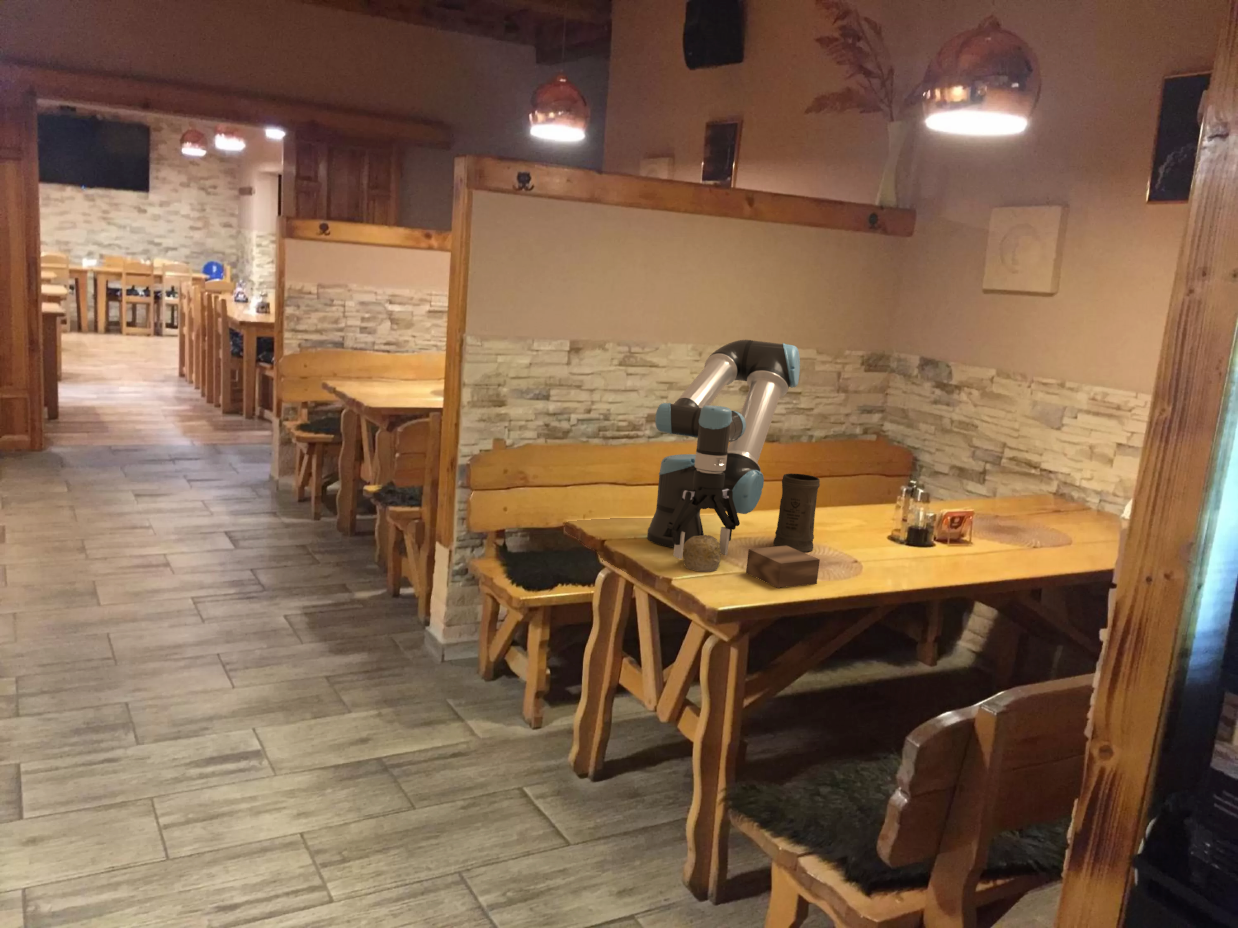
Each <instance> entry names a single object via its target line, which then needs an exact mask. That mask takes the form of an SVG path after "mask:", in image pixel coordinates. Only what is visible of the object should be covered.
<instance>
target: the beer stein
mask: <svg viewBox="0 0 1238 928" xmlns="http://www.w3.org/2000/svg"><path fill="white" fill-rule="evenodd" d="M820 486H821V483H820V478H819V477H817V476H813V475H811V474H801V473H784V474H783V476H782V479H781V489H782V490H781V498H780V503H779V511H778V518H777V523H776V525H777V527H776V530H775V537H774V539H773V541H772V544H773V547H776V546H789V547H791V548H794V549H796V550H799V551H801V552H803V553H809V552H811V551H813V550H814V543H813V541H814V539H815V535H814V531H815V529H814V528H815V516H816V508H817V507H816V506H817V500H818V497H817V496H818V491H819V488H820Z"/></svg>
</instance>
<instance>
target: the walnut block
mask: <svg viewBox="0 0 1238 928" xmlns="http://www.w3.org/2000/svg"><path fill="white" fill-rule="evenodd" d="M747 551H748V552H747V558H746V559H747V560H746V567H745V568H746V570H745V573H746V574H747V573H748V574H747V575H749V574H750V576H751V575H752V577H754V578H756V577H757V578H756V579H758V578H759V579H758V580H760V579H761V580H760V581H762V580H763V581H762V582H764V581H765V582H764V583H766V582H767V583H766V584H768V583H769V585H770V584H771V585H770V586H772V585H773V586H772V587H774V586H775V587H774V588H776V587H777V589H781V588H780V587H785V588H787V587H786V586H793V587H799V586H798V585H801V586H807V584H809V585H815V584H817V583H818V577H819V569H820V560H821V559H820V558H818V557H815V556H812V555H811V554H808V553H807V552H801V551H799V550H796V549H794V548H791V547H789V546H776V547H775V546H768V547H758V548H757V547H755V548H748V550H747Z"/></svg>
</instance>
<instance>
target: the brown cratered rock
mask: <svg viewBox="0 0 1238 928" xmlns="http://www.w3.org/2000/svg"><path fill="white" fill-rule="evenodd" d="M720 552H721V551H720V545H719V541H718V539H717V538H716V537H714V536H712V535H709V534H704V536H693V537H691V538H690V539H688V540H687V541H686V542H685V544H684V547H683V556H682V559H683V565H684V567H686V569H688V570H693V571H695V572H709V573H710V572H715V571H717V569H719V566H720V561H721V555H722V554H721V553H720Z"/></svg>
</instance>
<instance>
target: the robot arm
mask: <svg viewBox="0 0 1238 928" xmlns="http://www.w3.org/2000/svg"><path fill="white" fill-rule="evenodd" d="M800 357H801V356H800V351H799V348H798V347H797V346H796V345H794V344H793V345H792V344H786V343H785V342H782V343H776V342H768V341H762V340H761V341H760V340H751V339H739V340H735V341H732V342H729V343H727V344H725V345H723V346H720V347H719V348H717V349H716V350H715V351H714V352H712V353H711V354H710V355H709V356H708V357H707V359H706V360H705V362H704V365H703V367H704V368H703V369H702V370H701V372H700V373H698V375H697V376H696V377H695V378H694V380H692V382H691V383H690V384H689V385H688V387H686V389H685V390H684V391H683V392H682V394H681V395H680V396H679V397H678V398H677V399H676V401H675V402H674V403H671V402H663V403H661V404H659V405H658V407H657V409H656V412H655V420H654V422H655V427H656V429H657V431H659V432H662V433H665V434H669V435H677V436H685V437H692V438H697V440H696V442H697V443H696V451H695V454H690V453H688V454H687V453H686V454H682V453H681V454H674V455H673V454H672V455H668V456H665V457H664V458H663V459H662V460H661V461H660V469H659V473H658V475H659V476H658V485H657V486H658V487H657V499H656V510H655V513H654V515H653V517H652V519H651V521H650V525H649V527H648V528H647V536H646V539H647V540H648V541H649V542H651V543H652V544H653V543H654V544H656V545H659V546H664V547H667V548H673V557H674V558H677V559H678V560H682V559H683V547H684V544H685V542H686V541H687V540H688V539H690V538H691V537H693V536H704V535H705V533H704V528H703V523H702V518H701V511H702V510H706V509H710V510H714V511H715V513H716V514H717V516H718V518H719V519H720V521H721V523H722V525H723V526H721V527H720V534H719V541H718V543H719V545H720V551H721V552H720V554H721V555H724V556H728V552H729V543H730V542H731V540H732V534H733V533H732V532H733V531H734V530H736V527H739V526H740V524H741V523H740V519H739V516H738V515H739V514H743V515H746V514H749V513H751V512H753V510H755V508H756V507H757V505H758V503H759V501H760V499H761V496H762V493H763V488H764V484H765V483H764V481H765V477H764V474H763V472H761V466H760V465H759V463H758V462H759V460H760V457H761V454H762V452H763V451H762V450H763V448H764V444H765V441H766V439H767V436H768V433H769V431H770V427H771V424H772V421H773V419H774V415H775V411H776V410H777V407H778V403H779V400H780V398H784V397H785V395H787V393H788V391H789V388H790V389H791V388H797V386H798V385H799V380H800V369H801V361H800V360H801V359H800ZM734 381H741V382H746V383H747V386H748V388H749V389H748V392H747V395H746V397H745V400H744V403H743V406H742V408H741V411H740V412H739V411H736V410H731V408H729V407H726V406H721V405H720V406H719V405H711V404H712V403H713V402H714V401H715V400H716V398H717V397H718V395H720V393H721V392H722V391H723V389H724V388H725V387H726V386H728V385H731V384H732V383H733V382H734Z"/></svg>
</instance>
